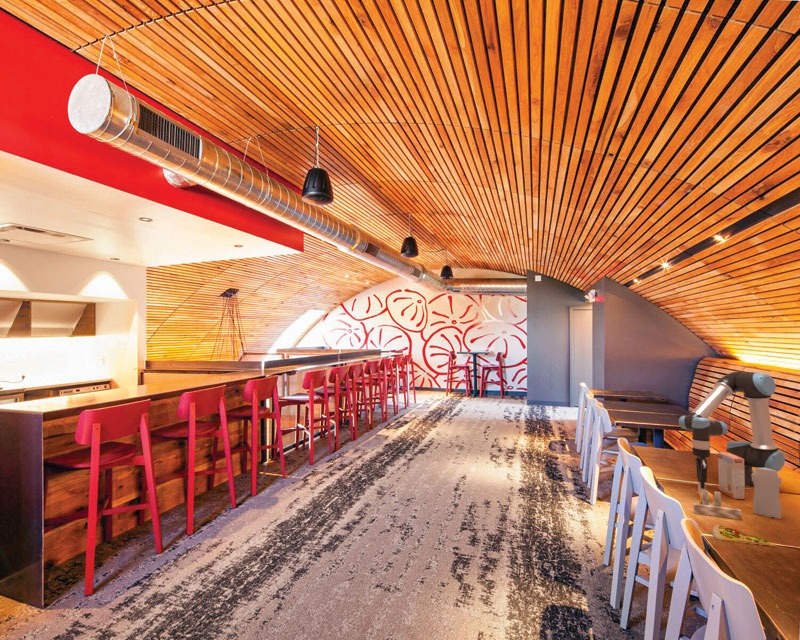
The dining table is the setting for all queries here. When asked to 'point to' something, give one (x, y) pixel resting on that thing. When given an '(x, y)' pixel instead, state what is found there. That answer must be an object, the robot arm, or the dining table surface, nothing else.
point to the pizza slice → (737, 536)
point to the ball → (710, 497)
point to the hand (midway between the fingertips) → (702, 494)
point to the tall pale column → (766, 492)
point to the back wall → (717, 511)
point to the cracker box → (731, 475)
